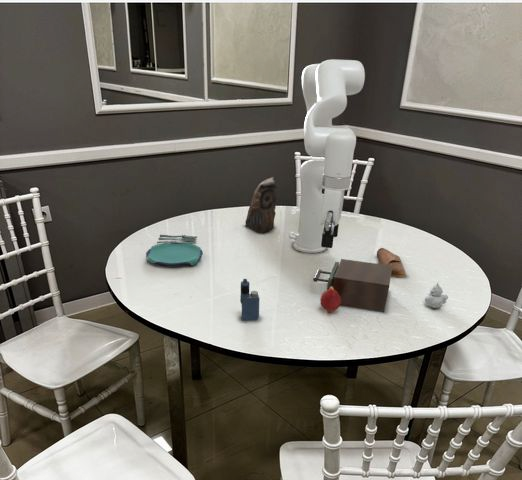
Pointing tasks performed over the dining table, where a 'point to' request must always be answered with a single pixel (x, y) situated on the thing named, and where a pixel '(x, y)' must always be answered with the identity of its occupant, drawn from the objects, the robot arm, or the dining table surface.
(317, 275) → the drawer
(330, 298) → the onion
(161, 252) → the cutlery set
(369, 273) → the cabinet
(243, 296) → the vaping device
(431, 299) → the grey lumpy piece
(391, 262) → the sunglasses case
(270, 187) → the owl
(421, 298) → the dining table surface
